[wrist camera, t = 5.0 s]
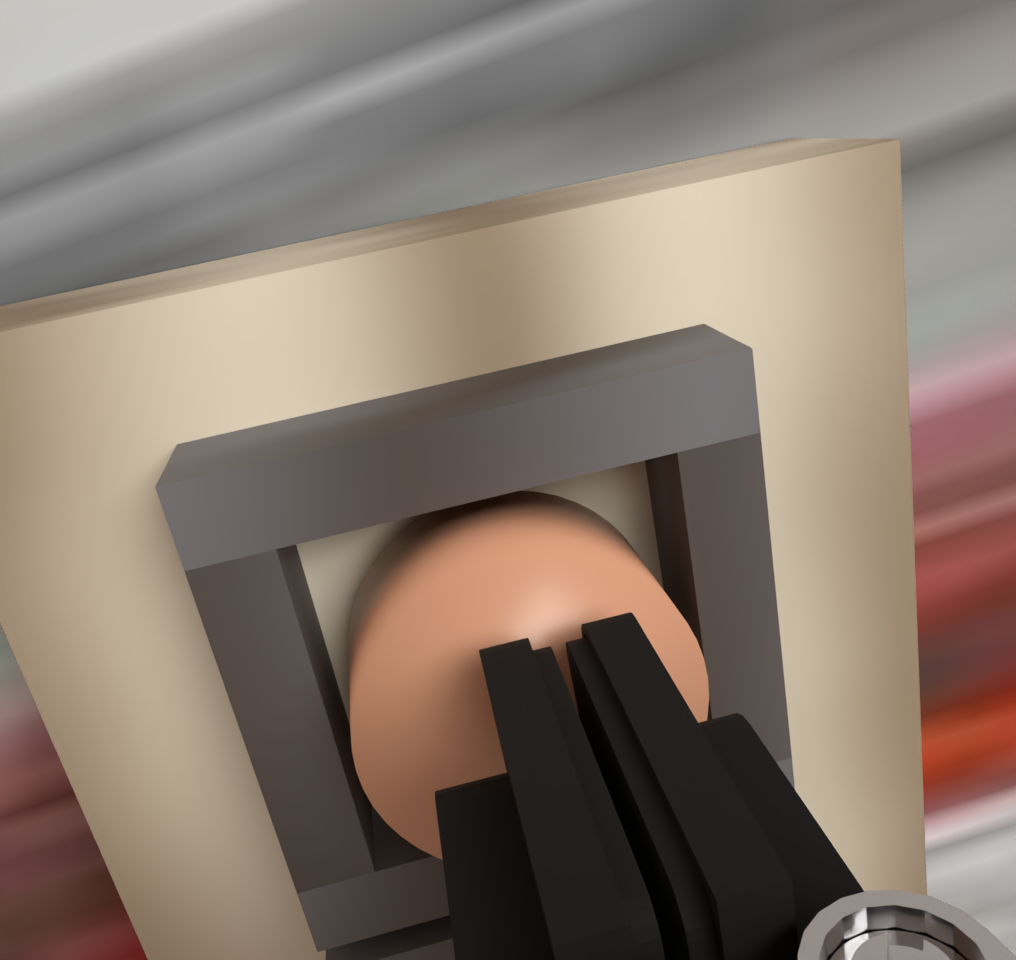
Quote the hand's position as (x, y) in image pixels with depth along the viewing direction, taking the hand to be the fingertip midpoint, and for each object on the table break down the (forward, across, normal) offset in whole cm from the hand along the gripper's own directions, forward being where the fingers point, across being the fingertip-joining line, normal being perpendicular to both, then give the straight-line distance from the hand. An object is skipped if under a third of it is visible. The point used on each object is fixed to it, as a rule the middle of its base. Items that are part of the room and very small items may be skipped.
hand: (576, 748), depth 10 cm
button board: (+6, 0, +7) cm, 9 cm away
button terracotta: (+2, 0, 0) cm, 2 cm away
